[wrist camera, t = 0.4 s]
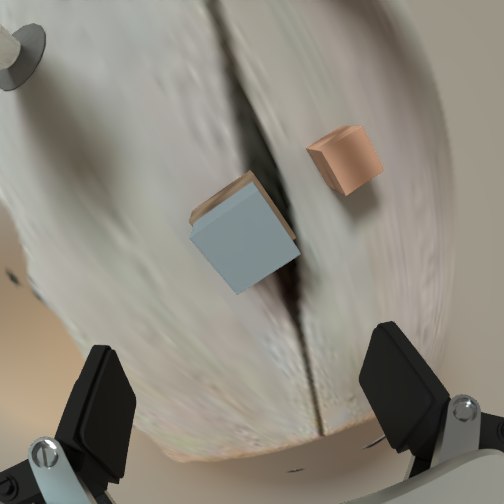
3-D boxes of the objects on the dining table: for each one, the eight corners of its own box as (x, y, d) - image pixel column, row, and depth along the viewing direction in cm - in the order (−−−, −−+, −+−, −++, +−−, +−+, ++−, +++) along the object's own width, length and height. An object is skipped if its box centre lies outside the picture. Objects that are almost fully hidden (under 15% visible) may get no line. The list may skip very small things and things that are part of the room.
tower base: (250, 169, 35) (254, 175, 30) (287, 224, 38) (296, 237, 34) (192, 210, 36) (188, 222, 31) (232, 261, 39) (234, 278, 35)
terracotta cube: (341, 126, 33) (362, 126, 28) (361, 163, 36) (384, 170, 30) (305, 148, 34) (321, 151, 29) (327, 186, 36) (346, 195, 31)
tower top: (252, 181, 30) (258, 190, 26) (289, 236, 33) (300, 253, 29) (193, 222, 32) (189, 238, 27) (234, 273, 35) (237, 295, 30)
